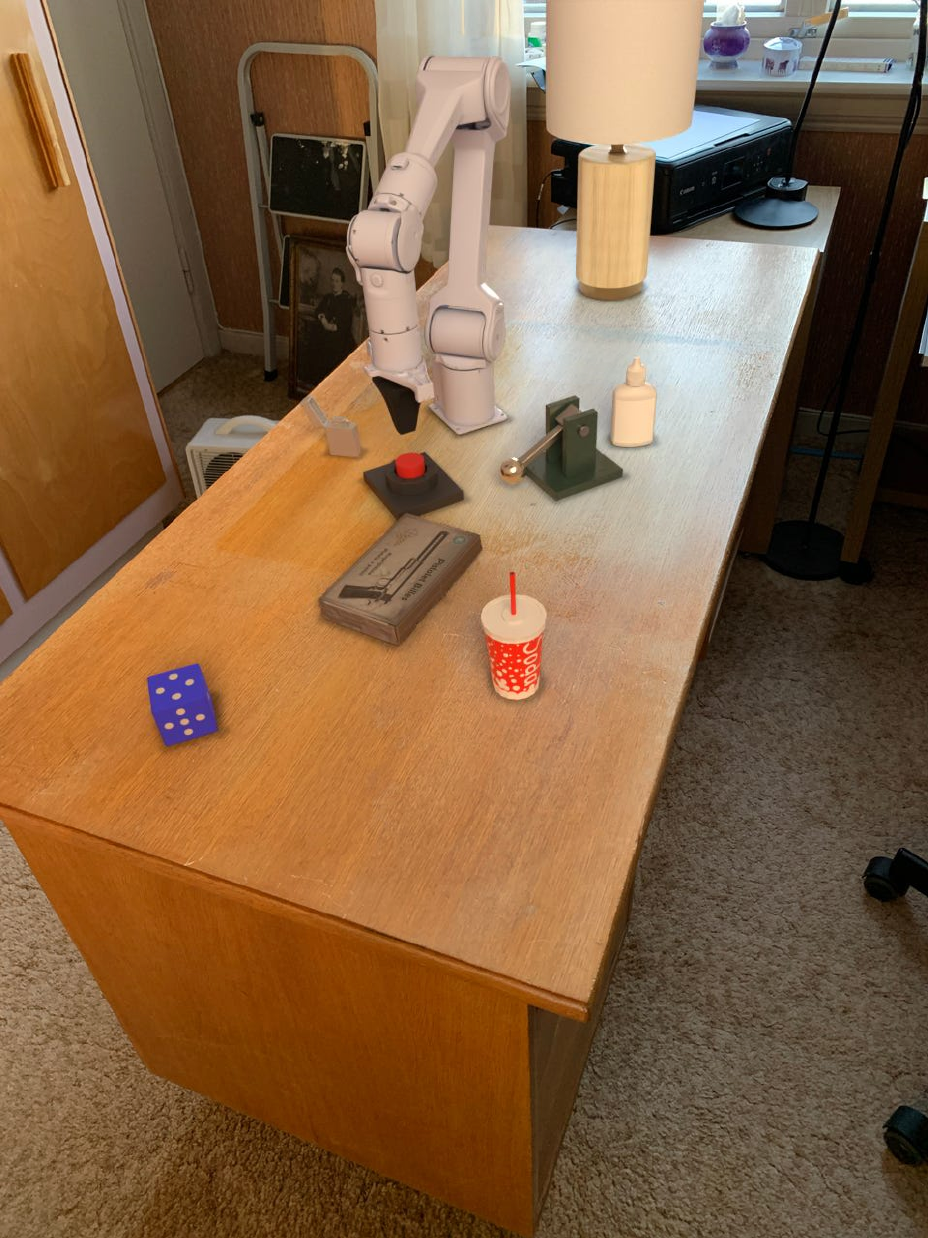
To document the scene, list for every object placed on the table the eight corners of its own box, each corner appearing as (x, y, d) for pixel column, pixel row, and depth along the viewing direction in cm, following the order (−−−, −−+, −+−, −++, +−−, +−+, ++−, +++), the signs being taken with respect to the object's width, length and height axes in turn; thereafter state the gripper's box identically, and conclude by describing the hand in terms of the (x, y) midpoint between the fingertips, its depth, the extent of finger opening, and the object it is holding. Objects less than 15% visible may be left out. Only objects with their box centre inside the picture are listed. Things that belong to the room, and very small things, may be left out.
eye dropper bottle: (645, 453, 120) (652, 369, 112) (605, 444, 122) (609, 361, 114) (656, 437, 123) (664, 354, 115) (617, 429, 125) (622, 346, 117)
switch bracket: (555, 501, 113) (556, 435, 107) (519, 468, 119) (517, 404, 113) (622, 476, 116) (626, 411, 110) (583, 445, 123) (585, 382, 116)
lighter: (361, 450, 125) (353, 397, 120) (357, 457, 124) (348, 404, 119) (314, 445, 127) (303, 393, 122) (309, 452, 126) (298, 400, 120)
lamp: (586, 255, 173) (595, -31, 143) (698, 276, 162) (732, -28, 133) (521, 298, 160) (515, -6, 130) (638, 325, 149) (661, 0, 119)
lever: (514, 493, 113) (503, 477, 111) (501, 481, 115) (491, 465, 113) (591, 427, 113) (582, 410, 111) (577, 416, 115) (568, 399, 113)
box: (484, 553, 105) (482, 532, 103) (400, 648, 95) (395, 626, 93) (408, 531, 110) (404, 509, 108) (320, 618, 100) (314, 597, 97)
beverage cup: (501, 713, 88) (495, 603, 78) (475, 673, 92) (467, 564, 82) (558, 692, 89) (559, 582, 80) (529, 653, 93) (527, 544, 84)
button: (392, 469, 116) (390, 457, 115) (417, 461, 117) (416, 449, 116) (404, 482, 113) (402, 470, 112) (430, 473, 115) (428, 462, 113)
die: (218, 732, 88) (205, 696, 85) (166, 747, 87) (150, 712, 84) (211, 697, 92) (198, 661, 88) (161, 711, 91) (146, 676, 87)
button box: (364, 480, 119) (361, 459, 117) (425, 460, 122) (423, 439, 120) (399, 522, 112) (396, 501, 110) (464, 499, 115) (462, 478, 113)
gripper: (336, 310, 106) (353, 414, 115) (387, 356, 96) (401, 467, 105) (391, 295, 108) (403, 399, 117) (447, 339, 98) (455, 449, 107)
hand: (406, 430), depth 111 cm, fingers closed
